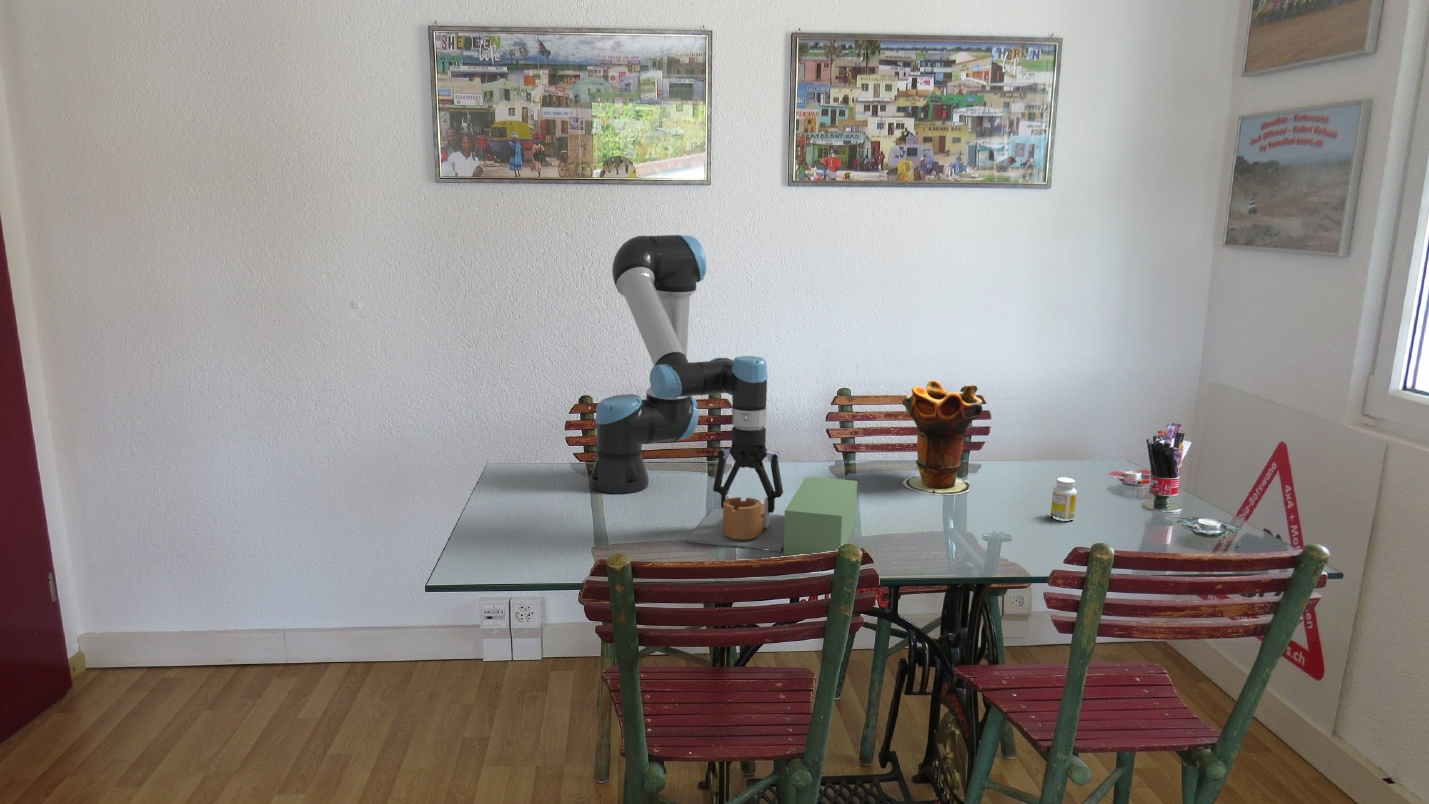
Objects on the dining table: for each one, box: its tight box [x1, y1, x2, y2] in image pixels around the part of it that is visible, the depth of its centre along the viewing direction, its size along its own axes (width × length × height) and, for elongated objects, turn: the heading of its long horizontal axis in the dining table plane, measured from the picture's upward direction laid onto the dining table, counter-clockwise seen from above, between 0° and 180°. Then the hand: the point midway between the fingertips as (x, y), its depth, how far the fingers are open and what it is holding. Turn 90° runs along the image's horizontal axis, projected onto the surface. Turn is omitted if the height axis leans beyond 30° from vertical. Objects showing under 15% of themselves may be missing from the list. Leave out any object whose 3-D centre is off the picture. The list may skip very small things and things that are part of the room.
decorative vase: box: [901, 379, 983, 496], centre depth 252 cm, size 21×23×28 cm
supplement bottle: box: [1050, 477, 1078, 519], centre depth 228 cm, size 5×5×10 cm
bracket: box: [722, 496, 765, 539], centre depth 217 cm, size 18×8×7 cm, turn 165°
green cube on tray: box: [686, 476, 858, 557], centre depth 216 cm, size 34×26×10 cm
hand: (747, 523), depth 218 cm, fingers closed on bracket, 8 cm apart
